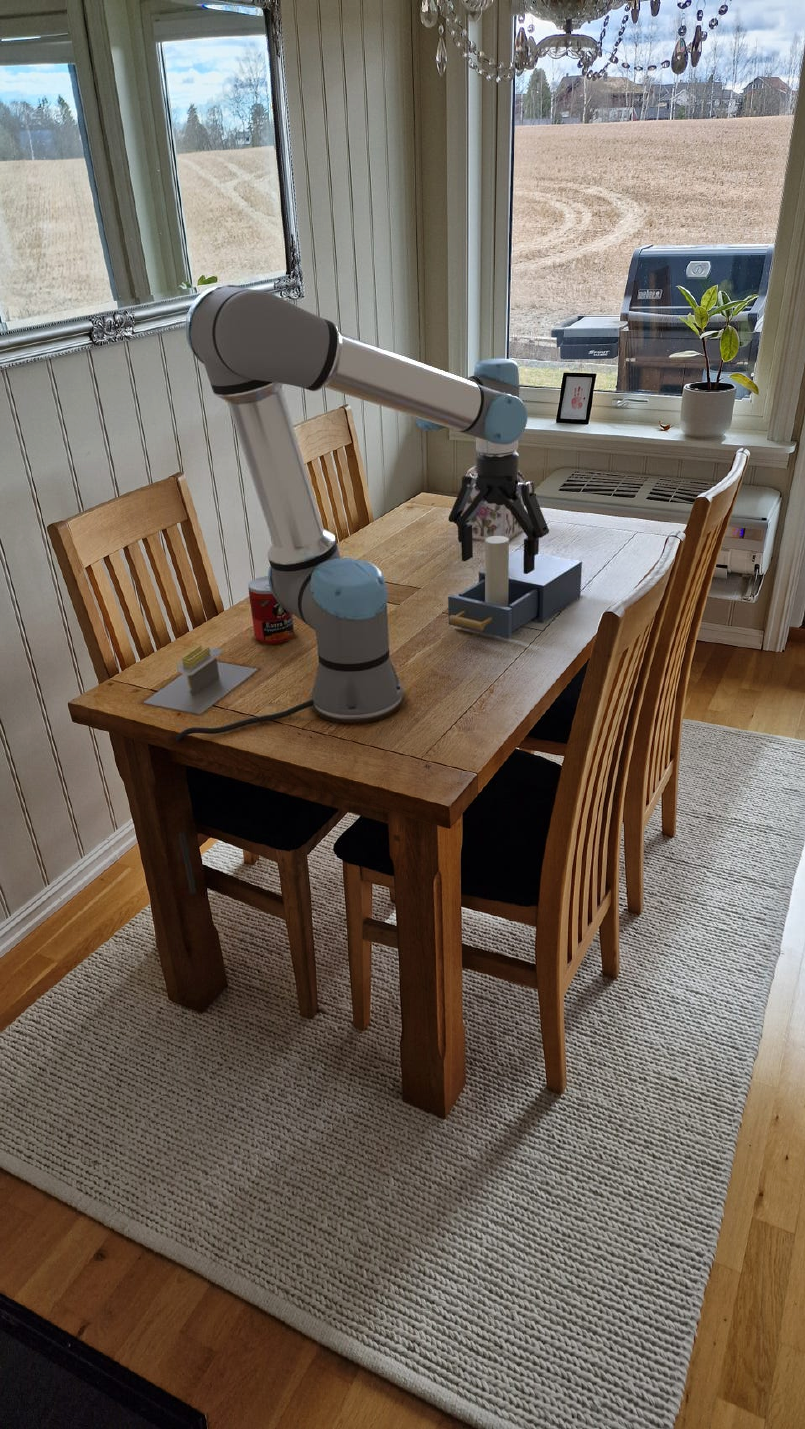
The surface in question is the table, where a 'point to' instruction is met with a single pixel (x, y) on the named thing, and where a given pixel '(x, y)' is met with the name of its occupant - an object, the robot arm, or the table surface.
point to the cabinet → (547, 580)
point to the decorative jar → (493, 516)
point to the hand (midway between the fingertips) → (497, 565)
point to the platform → (200, 682)
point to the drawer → (493, 609)
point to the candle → (496, 570)
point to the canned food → (268, 614)
